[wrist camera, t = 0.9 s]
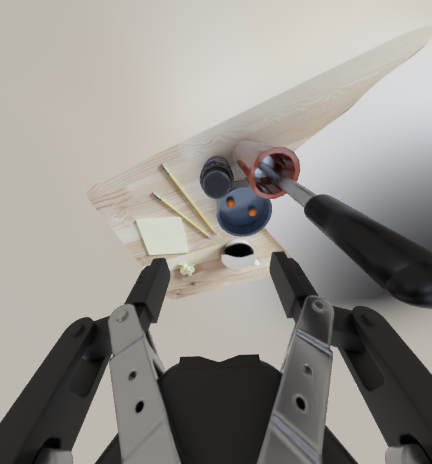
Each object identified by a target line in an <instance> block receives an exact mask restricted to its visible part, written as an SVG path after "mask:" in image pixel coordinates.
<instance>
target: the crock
mask: <svg viewBox="0 0 432 464" xmlns="http://www.w3.org/2000/svg"><path fill="white" fill-rule="evenodd" d="M269 155H270V156H271V157H272V158H273V160H274V169H276V170H277V171H279V172H280V173H282V174H284V175H285V176H287V177H289V178H290V179H292V180H293V181H295V182H297V180H298V176H299V173H300V164H299V159H298V158H297V156H296V155H295V153H294V152H293V151H291V150H289V149H287V148H285V147H280V146H276V145H271V144H265V143H260V142H255V141H251V140H241V141H239V142H238V143H237V144H236V145H235V146H234V148H233V151H232V157H233V160H234V162H235V163H236V165H237V166H238V168H239V169H240V171H241V172H242V174H243V176H244V178H245V179H246V181H247V182H248V184H249V185H250V187H251V189H252V190H253V191H254V192H255V193H256V195H258V196H260V197H262V198H265V199H275V198H278V197H280V196H283V195H284V194H286V192H285V191H284V190H283V189H281V188H280V187H279V186H278V185H277V184H276V183H274V182H273V181H272V180H271V179H270V178H268V177H265V178H261V179H260V178H256V177H254V176H255V170H256V169H257V167H258V165H259V163H260V162H261V161H262V160H263V159H264V158H265V157H267V156H269Z"/></svg>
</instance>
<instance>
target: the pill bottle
mask: <svg viewBox="0 0 432 464" xmlns="http://www.w3.org/2000/svg"><path fill="white" fill-rule="evenodd" d="M200 184H201V187H202V188H203V190H204V192H205V193H206V195H208V196H209V197H211V198H214V199H220V198H223V197H224V196H226V195H227V194H228V192H229V191H230V189H231V188H232V185H233V173H232V171H231V168H230V165H229V163H228V162H227V161H226V160H225V159H224V158H222V157H217V156H216V157H212V158H210V159H209V160H208V161H207V162H206V163H205V165H204V167H203V169H202V172H201V175H200Z"/></svg>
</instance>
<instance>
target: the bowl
mask: <svg viewBox="0 0 432 464" xmlns="http://www.w3.org/2000/svg"><path fill="white" fill-rule="evenodd" d="M229 199H233V200H234V201H235V205H234V207H231V208H230V207H228V206H227V201H228V200H229ZM251 208H255V209H256V210H257V214H256V215H255V216H250V215H249V210H250V209H251ZM271 213H272V205H271V202H270V199H265V198H262V197H260V196H258V195H256V193H255V192H254V191H253V190H252V189H251V187H250V185H249V184H248V182H247V181H237V182H234V183H233V185H232V188H231V189H230V191H229V192H228V194H227V195H226V196H224V197H223V198H220V199H218V200H217V219H218V223H219V224H220V226H221V227H222V229H223V230H225V231H226V232H227V233H229V234H231V235H234V236H241V237H242V236H249V235H252V234H255V233H257V232H259V231H260V230H262V229H263V228H264V227H265V226H266V224H267V223H268V221H269V220H270V217H271Z"/></svg>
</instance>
